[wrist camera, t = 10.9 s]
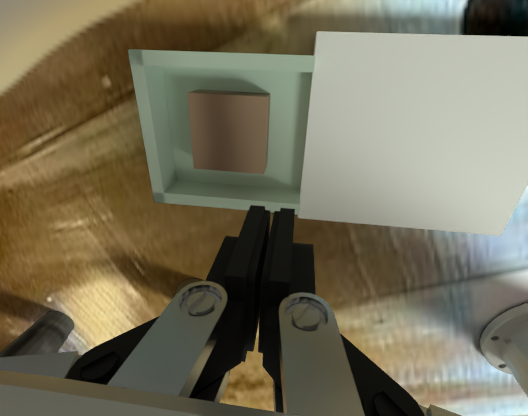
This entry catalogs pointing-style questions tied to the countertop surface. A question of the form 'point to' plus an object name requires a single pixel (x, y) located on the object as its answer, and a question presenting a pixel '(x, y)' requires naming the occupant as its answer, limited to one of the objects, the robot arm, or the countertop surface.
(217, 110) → the walnut tile
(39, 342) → the beverage cup
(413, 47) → the white flat slab
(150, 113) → the box
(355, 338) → the countertop surface
